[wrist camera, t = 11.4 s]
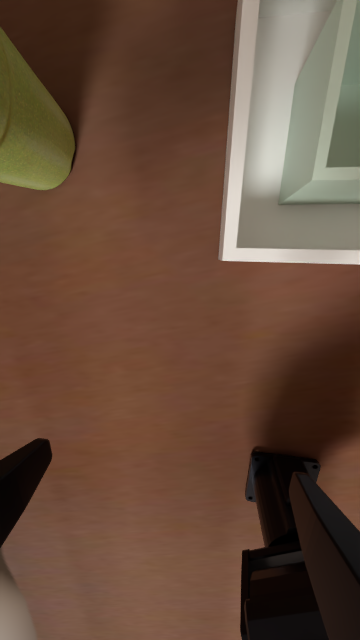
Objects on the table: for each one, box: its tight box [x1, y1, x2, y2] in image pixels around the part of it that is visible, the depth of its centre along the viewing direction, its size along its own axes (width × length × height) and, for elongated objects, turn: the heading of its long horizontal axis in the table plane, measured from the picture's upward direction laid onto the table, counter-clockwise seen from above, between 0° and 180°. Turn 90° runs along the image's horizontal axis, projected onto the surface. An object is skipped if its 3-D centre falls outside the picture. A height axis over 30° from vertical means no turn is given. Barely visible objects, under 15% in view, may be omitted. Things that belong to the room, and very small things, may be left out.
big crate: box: [218, 0, 360, 264], centre depth 12 cm, size 14×14×5 cm
